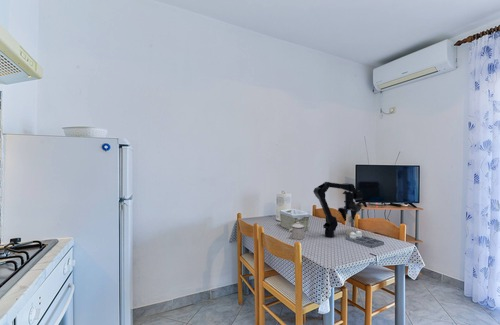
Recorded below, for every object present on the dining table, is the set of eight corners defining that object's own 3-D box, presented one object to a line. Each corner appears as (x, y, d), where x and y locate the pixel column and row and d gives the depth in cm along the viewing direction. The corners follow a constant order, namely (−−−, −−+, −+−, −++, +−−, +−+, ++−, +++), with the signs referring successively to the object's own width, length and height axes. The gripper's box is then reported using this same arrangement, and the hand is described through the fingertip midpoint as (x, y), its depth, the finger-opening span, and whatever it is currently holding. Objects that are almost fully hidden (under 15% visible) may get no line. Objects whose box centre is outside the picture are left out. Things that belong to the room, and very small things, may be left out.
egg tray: (371, 249, 157) (371, 244, 157) (345, 240, 174) (345, 236, 174) (383, 245, 163) (383, 241, 163) (357, 237, 181) (357, 233, 181)
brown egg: (349, 237, 182) (349, 229, 182) (345, 235, 186) (345, 228, 186) (353, 236, 184) (353, 229, 184) (348, 235, 188) (348, 227, 188)
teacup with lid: (300, 235, 187) (300, 220, 187) (306, 239, 179) (306, 223, 179) (286, 237, 184) (286, 221, 184) (291, 240, 175) (291, 224, 175)
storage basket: (278, 226, 215) (278, 209, 215) (294, 224, 221) (294, 208, 221) (293, 233, 193) (293, 215, 193) (310, 231, 199) (310, 213, 199)
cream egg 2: (359, 239, 173) (359, 231, 173) (354, 238, 177) (354, 230, 177) (363, 238, 175) (363, 231, 175) (358, 237, 179) (358, 229, 179)
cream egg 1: (353, 241, 170) (353, 233, 170) (348, 239, 174) (348, 231, 174) (357, 240, 172) (357, 232, 172) (352, 238, 176) (352, 230, 176)
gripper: (350, 202, 173) (350, 224, 173) (366, 200, 183) (366, 221, 183) (337, 200, 183) (337, 221, 183) (353, 198, 192) (353, 218, 192)
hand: (349, 220), depth 185 cm, fingers open, 9 cm apart
